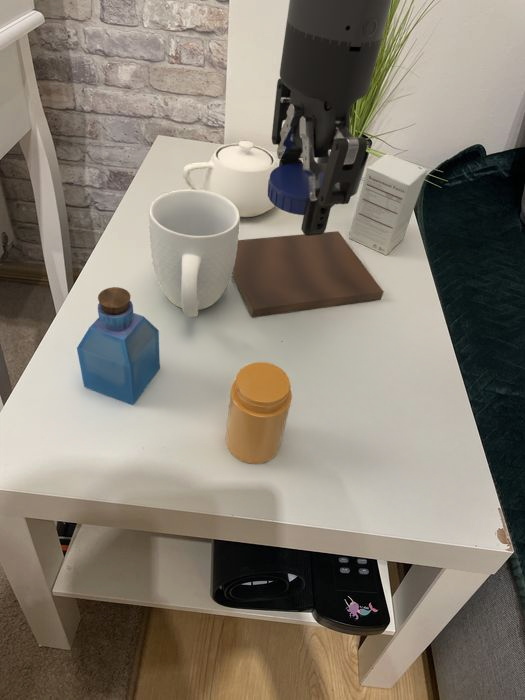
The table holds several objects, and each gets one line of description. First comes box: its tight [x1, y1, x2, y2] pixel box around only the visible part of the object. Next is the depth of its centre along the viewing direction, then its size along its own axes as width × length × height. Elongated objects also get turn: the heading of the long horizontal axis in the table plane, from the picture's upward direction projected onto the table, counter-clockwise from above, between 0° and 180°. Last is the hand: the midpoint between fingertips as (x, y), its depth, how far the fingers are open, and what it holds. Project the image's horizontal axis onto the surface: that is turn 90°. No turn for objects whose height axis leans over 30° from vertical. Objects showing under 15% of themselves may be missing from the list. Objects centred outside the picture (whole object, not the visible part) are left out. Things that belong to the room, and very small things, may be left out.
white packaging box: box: [348, 153, 428, 256], centre depth 84 cm, size 7×7×13 cm
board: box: [231, 230, 384, 318], centre depth 78 cm, size 20×16×2 cm
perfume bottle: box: [76, 286, 161, 406], centre depth 56 cm, size 6×6×12 cm
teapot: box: [182, 140, 303, 218], centre depth 88 cm, size 22×14×11 cm, turn 109°
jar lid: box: [268, 163, 335, 216], centre depth 50 cm, size 7×7×2 cm
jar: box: [224, 361, 293, 465], centre depth 53 cm, size 6×6×10 cm
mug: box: [148, 188, 241, 318], centre depth 66 cm, size 15×11×13 cm
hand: (298, 213), depth 52 cm, fingers closed on jar lid, 6 cm apart
